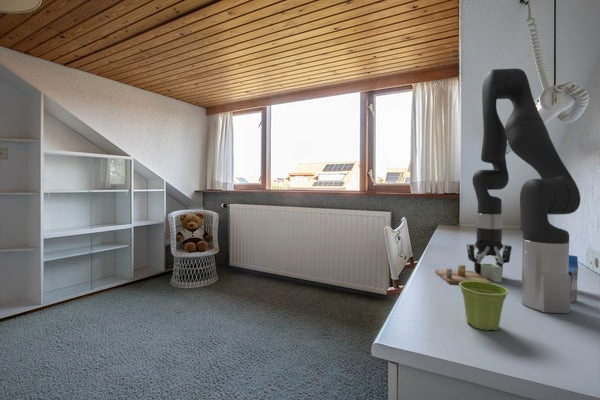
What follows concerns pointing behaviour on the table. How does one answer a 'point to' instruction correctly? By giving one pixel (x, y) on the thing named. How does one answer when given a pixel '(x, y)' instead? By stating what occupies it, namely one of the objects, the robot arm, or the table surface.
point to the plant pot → (483, 303)
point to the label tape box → (573, 276)
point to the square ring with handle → (491, 271)
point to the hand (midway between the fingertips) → (488, 273)
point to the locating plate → (459, 279)
